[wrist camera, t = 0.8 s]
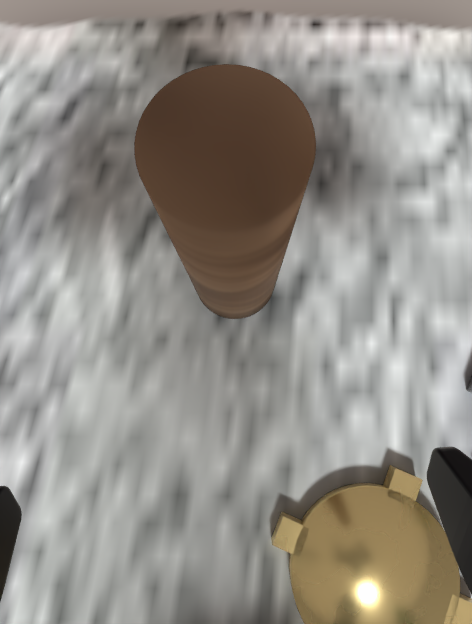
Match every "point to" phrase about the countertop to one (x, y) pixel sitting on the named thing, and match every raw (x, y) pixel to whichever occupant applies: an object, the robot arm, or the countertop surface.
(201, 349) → the countertop surface
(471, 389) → the steel gear disc
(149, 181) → the walnut axle
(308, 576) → the brass gear disc
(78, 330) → the countertop surface
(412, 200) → the countertop surface
